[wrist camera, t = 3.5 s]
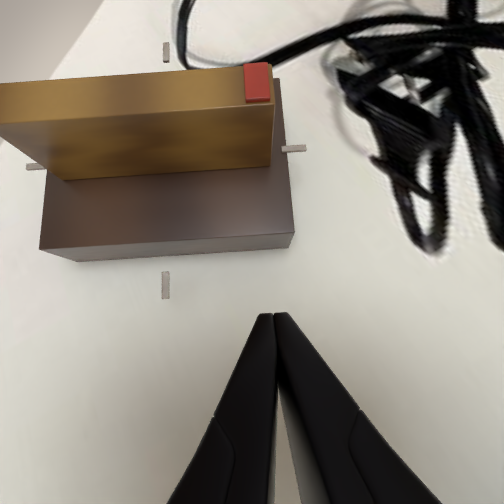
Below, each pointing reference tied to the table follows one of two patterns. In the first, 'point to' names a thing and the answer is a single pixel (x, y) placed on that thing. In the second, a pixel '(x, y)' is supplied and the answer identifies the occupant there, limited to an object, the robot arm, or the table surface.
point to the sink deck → (172, 209)
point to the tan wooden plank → (143, 121)
